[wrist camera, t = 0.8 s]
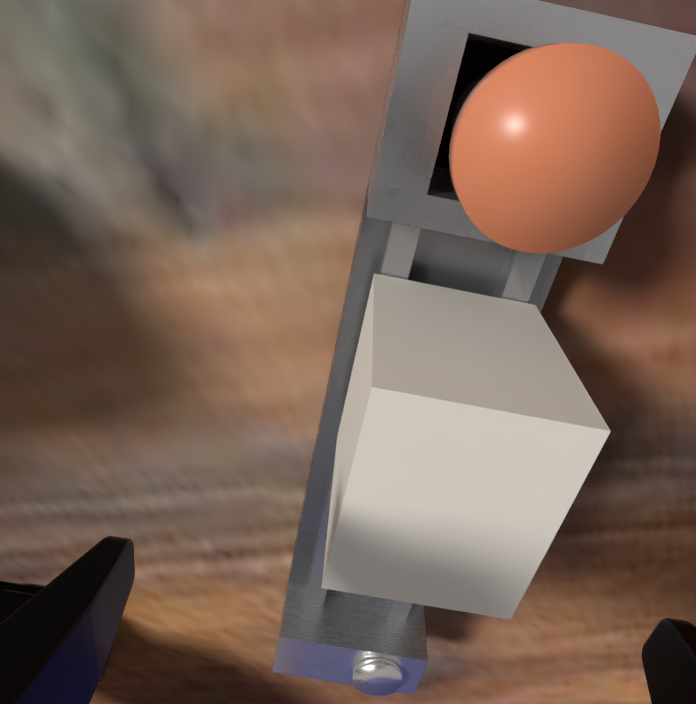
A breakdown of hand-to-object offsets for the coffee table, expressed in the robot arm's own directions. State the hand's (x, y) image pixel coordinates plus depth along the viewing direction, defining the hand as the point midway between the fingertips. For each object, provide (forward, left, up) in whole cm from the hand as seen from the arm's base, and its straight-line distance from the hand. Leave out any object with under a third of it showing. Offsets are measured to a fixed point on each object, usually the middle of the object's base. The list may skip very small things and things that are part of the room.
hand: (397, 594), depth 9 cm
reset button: (+7, -1, -9) cm, 11 cm away
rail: (-3, -1, -11) cm, 12 cm away
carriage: (-1, -2, -9) cm, 9 cm away
